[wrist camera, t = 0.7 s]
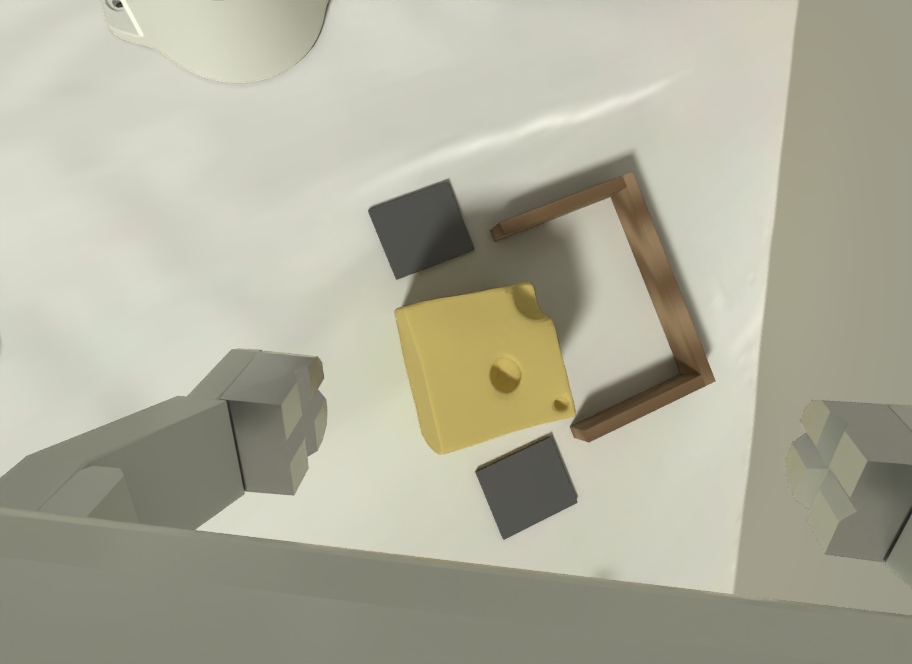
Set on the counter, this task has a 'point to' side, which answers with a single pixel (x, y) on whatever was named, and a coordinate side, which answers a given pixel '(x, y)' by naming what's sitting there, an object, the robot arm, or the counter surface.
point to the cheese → (482, 366)
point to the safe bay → (660, 291)
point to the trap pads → (426, 244)
